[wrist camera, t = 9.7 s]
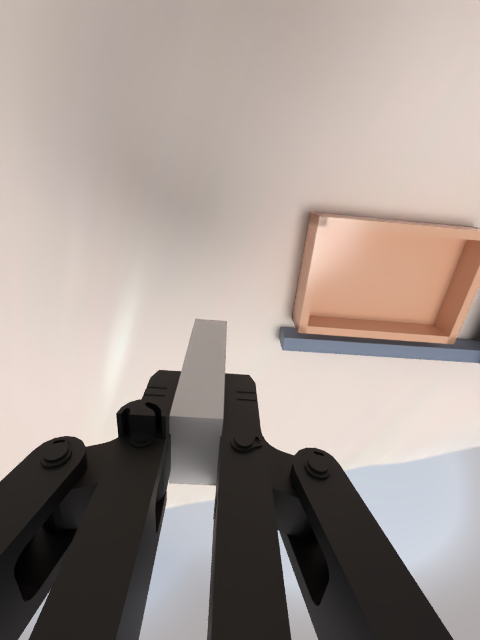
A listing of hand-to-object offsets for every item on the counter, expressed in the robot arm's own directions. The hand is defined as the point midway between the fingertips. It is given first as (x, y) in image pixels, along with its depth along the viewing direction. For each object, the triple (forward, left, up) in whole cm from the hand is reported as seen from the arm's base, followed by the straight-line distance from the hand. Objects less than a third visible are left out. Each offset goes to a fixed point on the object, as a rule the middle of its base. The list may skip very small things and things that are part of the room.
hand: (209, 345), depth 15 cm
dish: (0, +16, -17) cm, 23 cm away
